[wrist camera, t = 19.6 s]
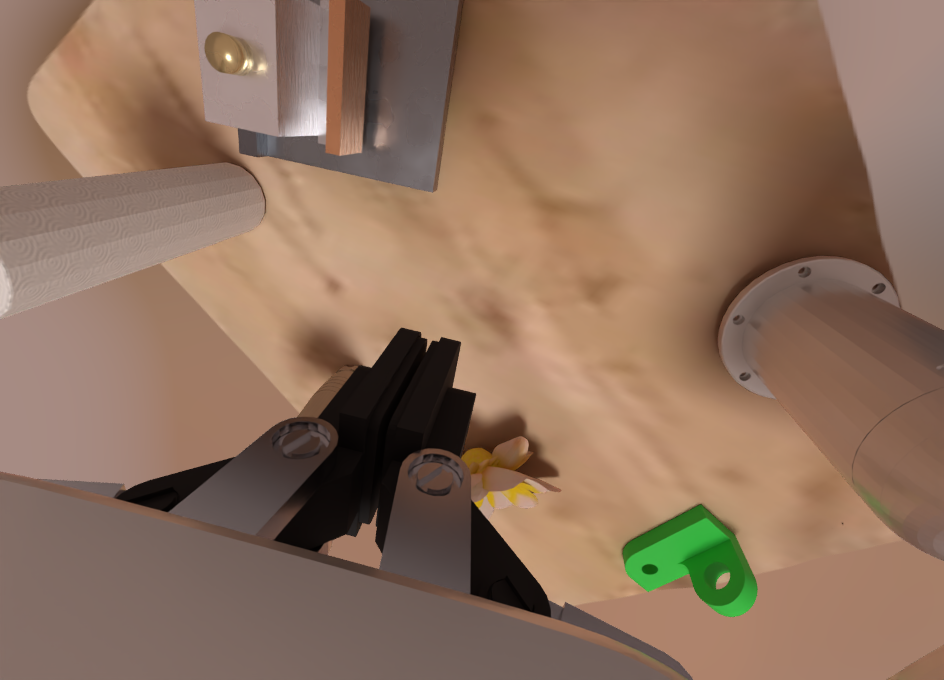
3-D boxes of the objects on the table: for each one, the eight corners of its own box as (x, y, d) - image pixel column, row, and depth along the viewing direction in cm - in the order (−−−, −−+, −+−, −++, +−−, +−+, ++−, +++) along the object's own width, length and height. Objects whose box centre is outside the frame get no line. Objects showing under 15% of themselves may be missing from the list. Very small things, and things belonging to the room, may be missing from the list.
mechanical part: (700, 502, 46) (728, 570, 39) (734, 533, 48) (767, 604, 41) (611, 549, 52) (622, 616, 44) (644, 576, 53) (660, 646, 46)
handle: (390, 377, 45) (325, 481, 32) (351, 406, 48) (276, 514, 34) (357, 343, 44) (276, 437, 31) (319, 375, 46) (228, 475, 33)
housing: (330, 11, 30) (258, -27, 23) (327, 135, 34) (264, 137, 26) (262, -2, 31) (170, -45, 23) (267, 122, 34) (188, 120, 27)
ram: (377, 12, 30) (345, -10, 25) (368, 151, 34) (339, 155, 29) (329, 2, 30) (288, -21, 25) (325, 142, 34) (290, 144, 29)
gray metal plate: (463, -2, 30) (455, -15, 27) (436, 190, 36) (428, 195, 33) (253, -43, 31) (226, -60, 28) (261, 151, 37) (239, 153, 34)
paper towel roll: (245, 151, 37) (-69, 177, 18) (279, 220, 39) (32, 306, 20) (182, 178, 39) (-162, 227, 20) (218, 242, 41) (-60, 340, 22)
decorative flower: (451, 517, 53) (433, 595, 44) (405, 448, 49) (375, 519, 40) (567, 487, 48) (572, 569, 39) (526, 409, 44) (521, 480, 36)
